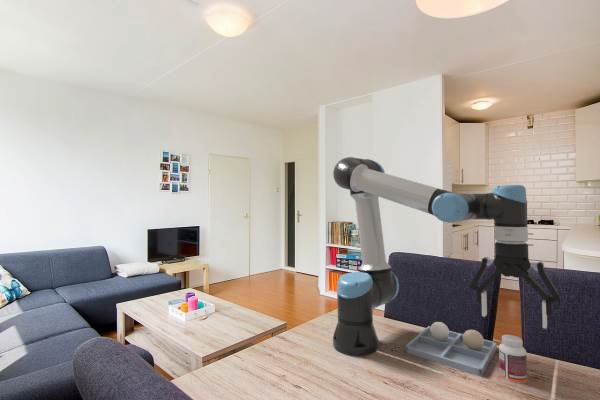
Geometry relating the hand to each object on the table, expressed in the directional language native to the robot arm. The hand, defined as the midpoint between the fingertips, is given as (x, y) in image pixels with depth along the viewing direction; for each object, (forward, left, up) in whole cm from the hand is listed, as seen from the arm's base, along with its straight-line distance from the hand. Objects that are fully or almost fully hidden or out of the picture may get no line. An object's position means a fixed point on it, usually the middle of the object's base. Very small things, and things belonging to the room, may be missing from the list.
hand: (513, 320), depth 85 cm
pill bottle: (0, 0, -16) cm, 16 cm away
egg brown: (-12, +10, -15) cm, 22 cm away
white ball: (-22, +10, -15) cm, 29 cm away
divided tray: (-17, +5, -16) cm, 24 cm away
